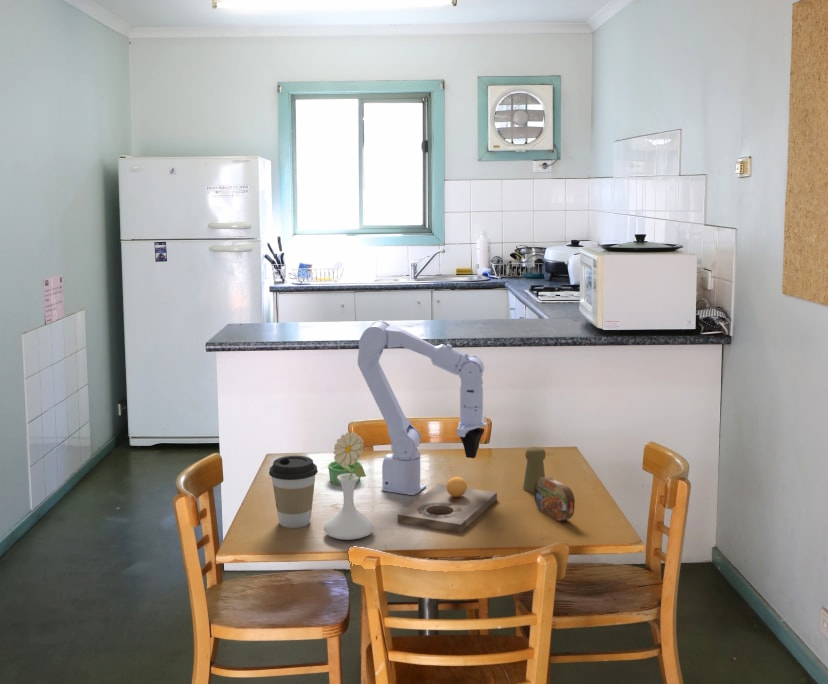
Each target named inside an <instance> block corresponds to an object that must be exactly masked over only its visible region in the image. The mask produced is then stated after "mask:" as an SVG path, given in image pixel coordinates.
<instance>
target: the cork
mask: <svg viewBox="0 0 828 684" xmlns="http://www.w3.org/2000/svg"><path fill="white" fill-rule="evenodd" d="M524 454H525V455H524V456H525V459H526V465H525V466H526V467H525V472H524V479H523V487H522V489H523V491H525V492H527V493H533V494H534V486H535V483H536V481H537V479H538V478H540V477H543V478H544V477H546V473H545V466H544V465H545V464H544V460H545V459H546V451H545V449H544V448H543V447H540V446H530V447H527V448H526V450H525V453H524Z"/></svg>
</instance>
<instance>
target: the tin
mask: <svg viewBox="0 0 828 684" xmlns="http://www.w3.org/2000/svg"><path fill="white" fill-rule="evenodd" d="M533 497H534V501H535V504H536V507H537V508H538V510H539V511H541V512H542V513H543V514H546V515H547V516H549V517H550V518H552V519H553V520H555V521H556V522H562V521H568V520H570V519H571V518H572V517H573V516H574V514H575V508H576V507H575V504H576V503H575V502H576V500H575V495H574V492H573V491H572V489H571V488H570V487H569V486H567V485H566V484H564V483H562V482H560V481H558V479H557V480H556V479H555V478H553V477H548V476H545V477H544V478H543V477H540V478H538V479H537V481H536V483H535V486H534V493H533Z"/></svg>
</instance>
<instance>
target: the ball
mask: <svg viewBox="0 0 828 684" xmlns="http://www.w3.org/2000/svg"><path fill="white" fill-rule="evenodd" d="M446 485H447V491H448V493H449V494H450V495H451V496H453V497H460V496H462V495H464V493H465V492H466V489H467V488H468V485H467V482H466V481H465V479H464V478H462V477H461V476H453V477H451V478H449V479H448V481H447V483H446Z"/></svg>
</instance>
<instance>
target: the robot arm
mask: <svg viewBox="0 0 828 684" xmlns="http://www.w3.org/2000/svg"><path fill="white" fill-rule="evenodd" d="M386 347H387V349H391V348H397V347H402V348H405V349H407V350H410V351H412V352H414V353H417V354H420V355H422V356H425V357H427V358H428V359H430V361H431V363H432V365H433V366H436V367H437V368H440V369H441V370H444V371H446V372H449V373H450V374H452V375H454V376H458V377H459V379H460V387H459V422H458V427H457V428H456V437H459V438H460V440H461V442H462V445H463V450H464V453H465V454H464V455H465V458H468V459H475V458H476V457H477V453H478V449H479V444H480V441H481V439H482V438H483V437H482V436H483V435H484V433H485V429H484V428H486V427H487V426H488V423H487V422H486V415H484V414H483V411H484V410H483V409H484V407H483V406H484V405H483V403H484V401H483V400H484V388H483V387H484V386H483V384H484V383H483V382H484V381H483V374H484V370H485V366H484V362H483V361H482V360H481V358H479V357H478V356H476V355H470V354H469V353H467V352H465V353H463V352H461V351H459V350H456V349H454V348H452V347H453V345H452V344H449V343H447V344H446V345H445V344H444V343H442V344H439V345H434V344H433V343H430V342H429V341H426V340H425V339H422V338H420V337H419V336H416V335H415V334H413V333H411V332H409V331H407V330H404V329H403V328H401V327H399V326H397V325H394V324H391V323H388V322H386V321H384V320H377V321H373V323H372V324H371V325H370V326H369V327H367V328H365V330H364V331H363V333H362V334H361V336H360V338H359V340H358V355H357V366H358V367H359V370H360V372H361V375H362V376H363V378H364V380H365V381H364V382H365V383H366V384H367V387H368V388H369V389H368V390H369V391H370V393H371V395H372V397H373V400H374V401H375V403H376V405H377V407H378V409H379V410H378V411H380V414H381V415H382V418H383V419H384V422H385V424H386V426H387V431H388V434H387V435H388V437H389V440H390V442H391V444H390V445H391V452H392V453H387V454H385V456H384V458H383V461H382V465H381V468H382V469H381V473H382V479H381V480H382V487H381V488H380V490H381V491H383V492H387V493H388V492H389V493H396V494H402V495H409V496H415V495H417V494H418V493H420V492H421V491H422V490H423V489H425V488H426V487H427V484H426V483H421V453H420V452H419V448H418V447H419V446H420V444H421V440H422V437H421V433H420V431H419V430H418V429H417V428H416V427H415V426H413V424H412V422H411V421H410V419H409V418H407V417H406V415H405V414H404V411H403V409H402V407H401V405H400V403H399V401H398V399H397V397H396V394H395V393H394V391H393V389H392V386H391V384H390V383H389V381H388V379H387V376H386V374H385V372H384V369H383V368H382V365H381V364H380V359H381V356H382V354H383V352H384V349H385V348H386Z"/></svg>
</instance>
